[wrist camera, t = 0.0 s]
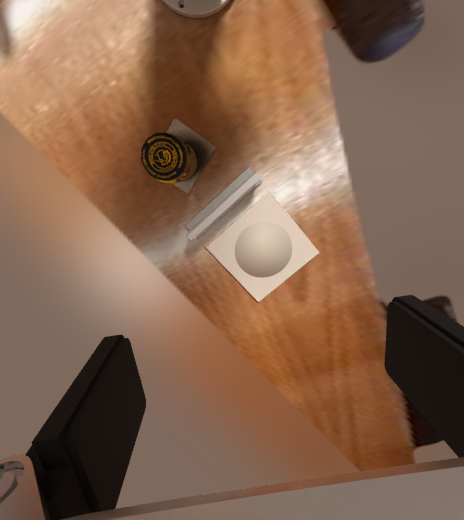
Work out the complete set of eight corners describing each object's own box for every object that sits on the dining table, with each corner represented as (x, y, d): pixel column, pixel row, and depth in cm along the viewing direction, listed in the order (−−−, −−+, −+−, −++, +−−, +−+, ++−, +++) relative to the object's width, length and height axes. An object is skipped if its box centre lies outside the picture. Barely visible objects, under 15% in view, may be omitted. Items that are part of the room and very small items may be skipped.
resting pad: (206, 246, 47) (205, 247, 46) (268, 191, 45) (269, 191, 44) (258, 301, 50) (258, 302, 50) (318, 252, 48) (319, 252, 48)
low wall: (185, 225, 46) (181, 231, 41) (249, 166, 43) (253, 165, 39) (198, 238, 46) (195, 245, 42) (261, 181, 44) (266, 182, 39)
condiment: (147, 167, 43) (122, 165, 31) (174, 117, 41) (158, 95, 29) (188, 194, 44) (177, 201, 33) (216, 146, 42) (216, 137, 31)
